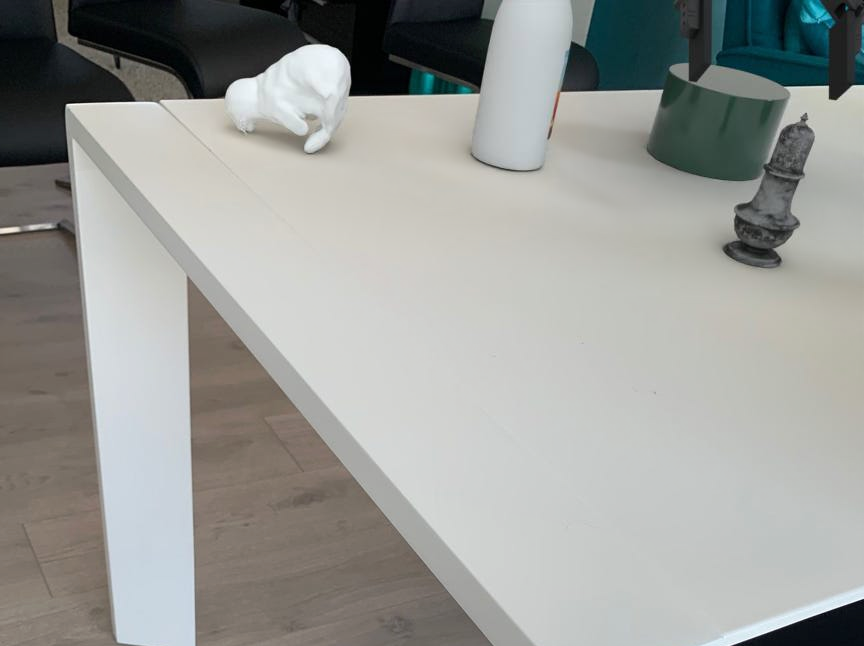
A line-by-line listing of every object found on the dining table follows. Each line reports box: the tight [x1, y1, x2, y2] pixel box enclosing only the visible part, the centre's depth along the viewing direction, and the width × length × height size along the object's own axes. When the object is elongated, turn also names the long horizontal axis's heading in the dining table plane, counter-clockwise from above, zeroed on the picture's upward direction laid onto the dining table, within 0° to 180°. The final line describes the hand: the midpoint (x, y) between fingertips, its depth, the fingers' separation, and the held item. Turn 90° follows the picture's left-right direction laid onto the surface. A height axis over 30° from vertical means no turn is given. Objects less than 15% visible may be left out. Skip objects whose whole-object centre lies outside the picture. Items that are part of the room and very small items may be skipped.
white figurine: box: [224, 43, 352, 154], centre depth 96 cm, size 6×8×12 cm
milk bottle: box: [470, 0, 574, 171], centre depth 97 cm, size 8×8×20 cm
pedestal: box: [646, 62, 791, 181], centre depth 111 cm, size 13×13×8 cm
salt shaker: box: [723, 112, 816, 268], centre depth 88 cm, size 6×6×12 cm
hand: (771, 82), depth 90 cm, fingers open, 13 cm apart
